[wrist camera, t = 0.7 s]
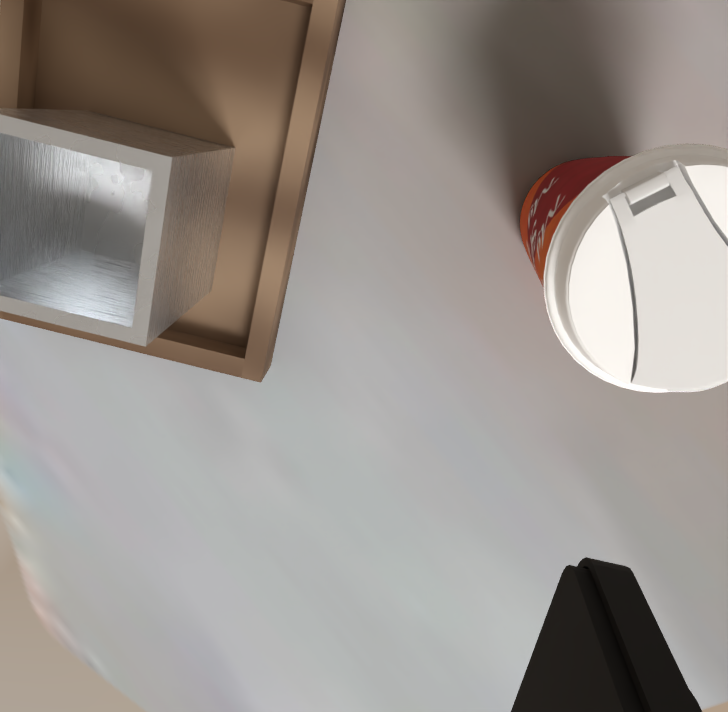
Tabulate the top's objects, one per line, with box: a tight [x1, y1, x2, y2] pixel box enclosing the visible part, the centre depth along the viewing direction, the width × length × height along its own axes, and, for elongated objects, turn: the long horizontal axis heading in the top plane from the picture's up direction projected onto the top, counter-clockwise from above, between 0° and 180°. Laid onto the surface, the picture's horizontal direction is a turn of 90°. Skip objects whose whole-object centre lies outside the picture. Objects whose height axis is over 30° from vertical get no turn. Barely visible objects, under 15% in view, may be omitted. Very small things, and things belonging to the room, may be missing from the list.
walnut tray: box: [0, 0, 346, 382], centre depth 33 cm, size 18×14×2 cm
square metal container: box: [0, 108, 235, 347], centre depth 29 cm, size 7×7×9 cm
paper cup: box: [520, 144, 728, 393], centre depth 27 cm, size 8×8×14 cm
